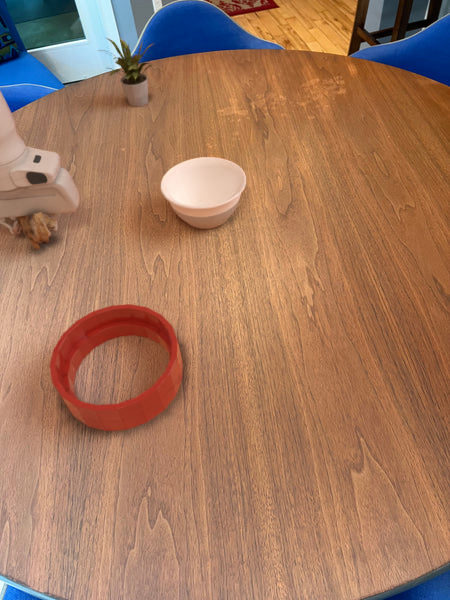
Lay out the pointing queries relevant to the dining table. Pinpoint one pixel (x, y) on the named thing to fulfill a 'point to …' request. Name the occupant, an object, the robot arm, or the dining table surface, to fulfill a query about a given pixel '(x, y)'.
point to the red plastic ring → (100, 330)
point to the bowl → (204, 190)
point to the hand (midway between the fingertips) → (35, 230)
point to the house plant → (132, 75)
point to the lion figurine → (37, 228)
